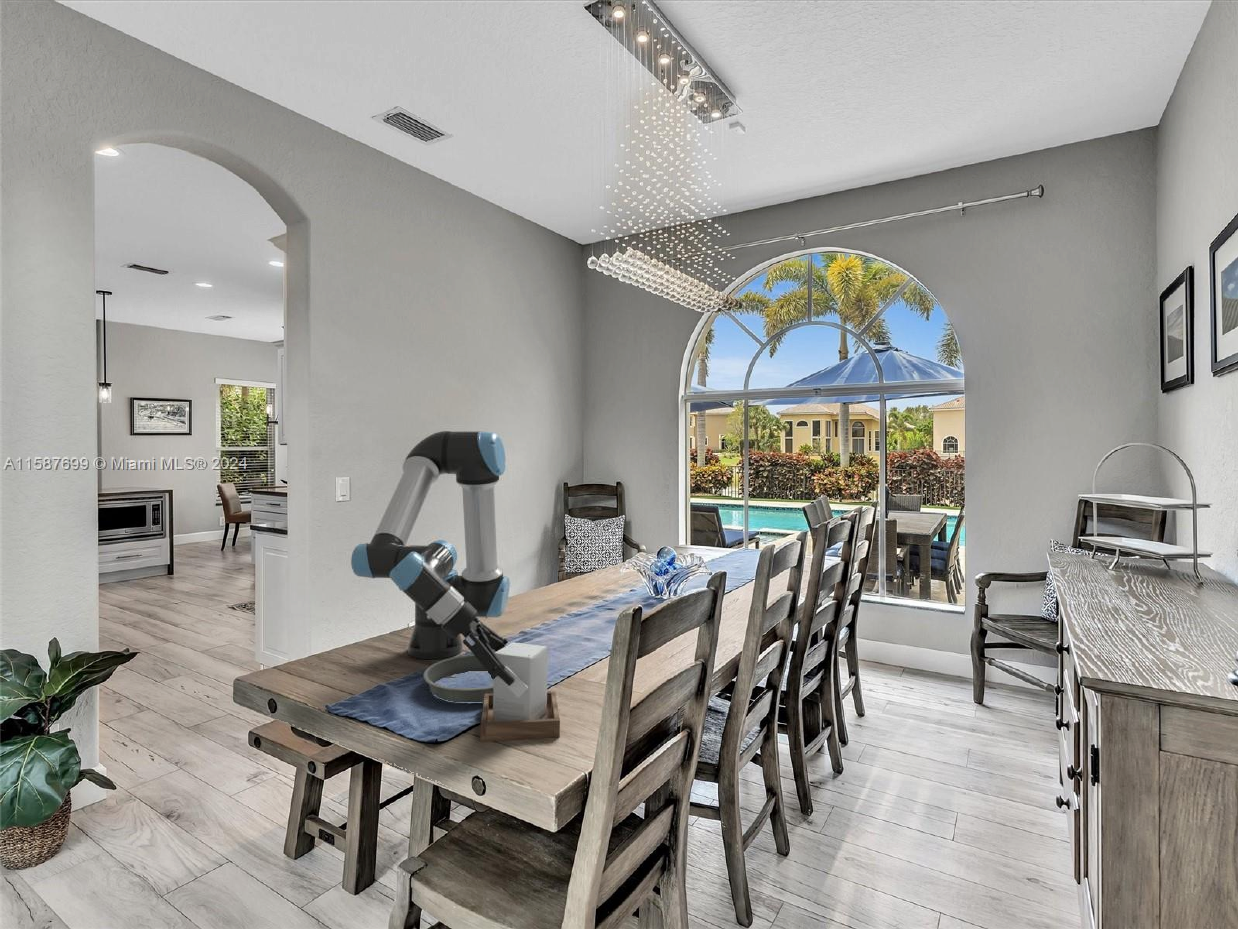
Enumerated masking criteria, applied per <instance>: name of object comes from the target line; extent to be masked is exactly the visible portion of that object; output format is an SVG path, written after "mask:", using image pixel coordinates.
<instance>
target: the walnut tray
mask: <svg viewBox="0 0 1238 929" xmlns="http://www.w3.org/2000/svg"><path fill="white" fill-rule="evenodd" d="M556 693H557V692H556V691H555V690H552V691H551V690H550V691H548V690H547V713H546V714H544V715H543V716H542V717H541V718H540V719H538V720H516V721H495V722H493V694H485V696H484V703H482V704H483V705H482V714H481V721H480V742H493V741H512V740H513V741H515V740H533V739H551V738H560V737H561V736H560V733H561V720H560V719H561V718H560V711H559V707H558V700H557V694H556Z"/></svg>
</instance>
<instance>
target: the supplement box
mask: <svg viewBox="0 0 1238 929" xmlns="http://www.w3.org/2000/svg"><path fill="white" fill-rule="evenodd" d="M506 645H507V646H506ZM506 645H505V646H506V647H504V648H502V649H500V650H498V651H497V652H496V651H494V653H495V654H496V655H497V657H498V658H499V660H500V661H501V662H502V664H503V665H504V667H505V666H507V667H508V668H509V669H510V670H511V671H512V672H513V673H514V674H515V675H516V676H517V677H518V678H519V679H520V680H522V681H523V682H524V683H525V684H526V685H527V686H528V689H527V690H526V691H525V692H524V693H523V694H522V695H521V696H520V697H519V698H518V697H517V696H516V695H515V694H514V693H513V692H512V691H511V690H510V689H509V688H508V687H507V686H506V685H505V684H504V683H503V682H502V681H501V680H500V679H498V678H497V677H496V678H495V679H494V680H493V722H495V721H516V720H538V719H540V718H541V717H542V716H543V715H544V714H546V713H547V691H548V652H549V651H548V646H547V645H546V646H544V645H538V644H537V645H536V644H529V643H523V642H522V643H521V642H515V641H513V642H511V643H509V644H506ZM495 668H496V667H495Z"/></svg>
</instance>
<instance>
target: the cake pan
mask: <svg viewBox="0 0 1238 929" xmlns="http://www.w3.org/2000/svg"><path fill="white" fill-rule="evenodd" d="M468 671H487V670H486V669H485V668H484V666H483V665H482V664H481V663H480V661H479V660H478V659H477V658H476V656H475V655H474V654H467V655H457V656H455V657H454V656H452V657H448V658H444V659H442V660H440V661H438V662H437V661H436V662H435V663H433V664H431V665H429V666H428V667H427V668H426V669H425V670H424V672H423V675H422V676H423V680H425V681H424V682H426V683H427V684H428V686H429V690H430V693H431V692H432V694H434V695H436V696H437V697H439V698H442V699H444V700H448V701H453V702H484V696H485V694H493V686H489V687H482V688H451V687H445V686H441V685H438V684H435V682H436V681H438V680H440V679H442V678H456V677H451V676H452V675H454V674H460V673H465V672H468ZM432 694H431V695H432Z"/></svg>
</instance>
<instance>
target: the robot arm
mask: <svg viewBox="0 0 1238 929" xmlns="http://www.w3.org/2000/svg"><path fill="white" fill-rule="evenodd" d="M505 469H506V454H505V447H504V444H503V441H502V439H501V438H500V436H499V434H497V433H495V432H488V431H487V432H486V431H448V430H442V431H438V432H434V433H432V434H430V435H428V436H427V437H425V438H424V439H422V440H421V441H420V442H418V443H417V444H416V445H415V446H414V447H413V448H411V450H410V452H409V453H408V454H407V456H406V457H405V460H404V462H403V464H402V471H403V473H402V474H401V477H400V479H399V481H398V484H397V485H396V488H395V490H394V492H393V494H392V497H391V499H390V501H389V503H388V505H387V507H386V509H385V511H384V513H383V516H382V518H381V520H380V522H379V524H378V527H377V528H376V530H375V533H374V535H373V537H372V538H371V541H370V542H369V543H366V542H365V543H359V544H358V545H356V546H355V548H354V549H353V551H352V554H351V558H350V563H351V564H350V566H351V570H352V571H353V573H354V575H355V576H357V577H362V578H370V579H390V580H391V581H392V582H393V583H394V584H395V585H396V586H397V588H398V589H399V591H402V592H403V594H405V595H406V596H407V597H408V598H409V599H410V600H412V602H414V607H415V609H414V627H413V631H412V632H411V633H412V634H411V635H410V639H409V643H408V644H407V645H408V646H407V647H408V649H407V654H408V655H409V656H410V657H413V658H416V659H419V660H420V659H421V660H437V659H438V660H440V659H448V658H452V657H454V656H456V655H457V656H458V654H460V653H461V652H463V645H465V647H467V648H468V649H469V650H470V652H471V653H472V655H475V656H476V658H477V659H478V660H479V661H480V663H481V664H482V665H483V666H484V668H485V669H486V670H487V671H488V673H489V674H490V675H491V678H492V679H493V680H494V679H495V678H496V677H497V678H498V679H500V680H501V681H502V682H503V683H504V684H505V685H506V686H507V687H508V688H509V689H510V690H511V691H512V692H513V693H514V694H515V695H516V696H517V697H518V698H519V697H520V696H521V695H522V694H523V693H524V692H525V691H526V690H527V689H528V686H527V685H526V684H525V683H524V682H523V681H522V680H520V679H519V678H518V677H517V676H516V675H515V674H514V673H513V672H512V671H511V670H510V669H509V668H508V667H507V666H505V667H504V665H503V664H502V662H501V661H500V660H499V658H498V657H497V655H496V654H495V652H497V651H498V650H500V649H502V648H504V647H506V646H507V645H508V643H509V641H508V640H507V639H506V638H503V636H501V635H499V634H498V633H497V632H495V631H494V630H492V629H491V628H490V627H488V626H487V625H486V624H484V623H483V622H482V621H481V620H479V619H478V618H484V619H489V618H499V617H501V616H502V615H503V614H504V612H505V610H506V607H507V603H508V599H509V593H510V586H511V585H510V584H511V583H510V582H511V581H510V578H509V577H507V576H504V571H503V568H502V567H501V566H499V565H498V559H497V558H498V556H497V531H496V530H497V529H496V505H495V504H496V502H495V501H496V499H495V486H496V485H497V483H498V482H499V481H500V476H502V475H503V474H504V473H505V471H506V470H505ZM445 474H447V475H455V482H456V484H458V485H459V486H460V488H462V490H461V491H462V505H463V506H462V507H463V508H462V509H463V525H464V543H465V544H464V546H465V563H466V564H465V565H466V566H465V568H464V569H463V570H462V571H461V573H460V574H461V575H459V573H458V570H457V569H454V566H455V565H456V563H457V560H458V554H457V553H458V552H457V550H456V547H455V546H454V545H453V544H452V543H450V542H449V541H447V540H443V539H438V540H435V541H433V542H430V543H429V544H428V545H416V544H415V545H413V544H412V545H409V544H407V542H408V540H409V538H410V535H411V533H412V530H413V528H414V526H415V524H416V521H417V520H418V516H419V515H420V514H419V513H420V512H421V511H422V510H421V509H422V508H423V506H424V503H425V500H426V498H427V495H428V493H429V490H430V488H431V485H432V484H434V483H435V482H437V480H438V479H439V478H440V475H445ZM461 635H462V636H461ZM462 637H464V639H462ZM495 667H496V668H495Z"/></svg>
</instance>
